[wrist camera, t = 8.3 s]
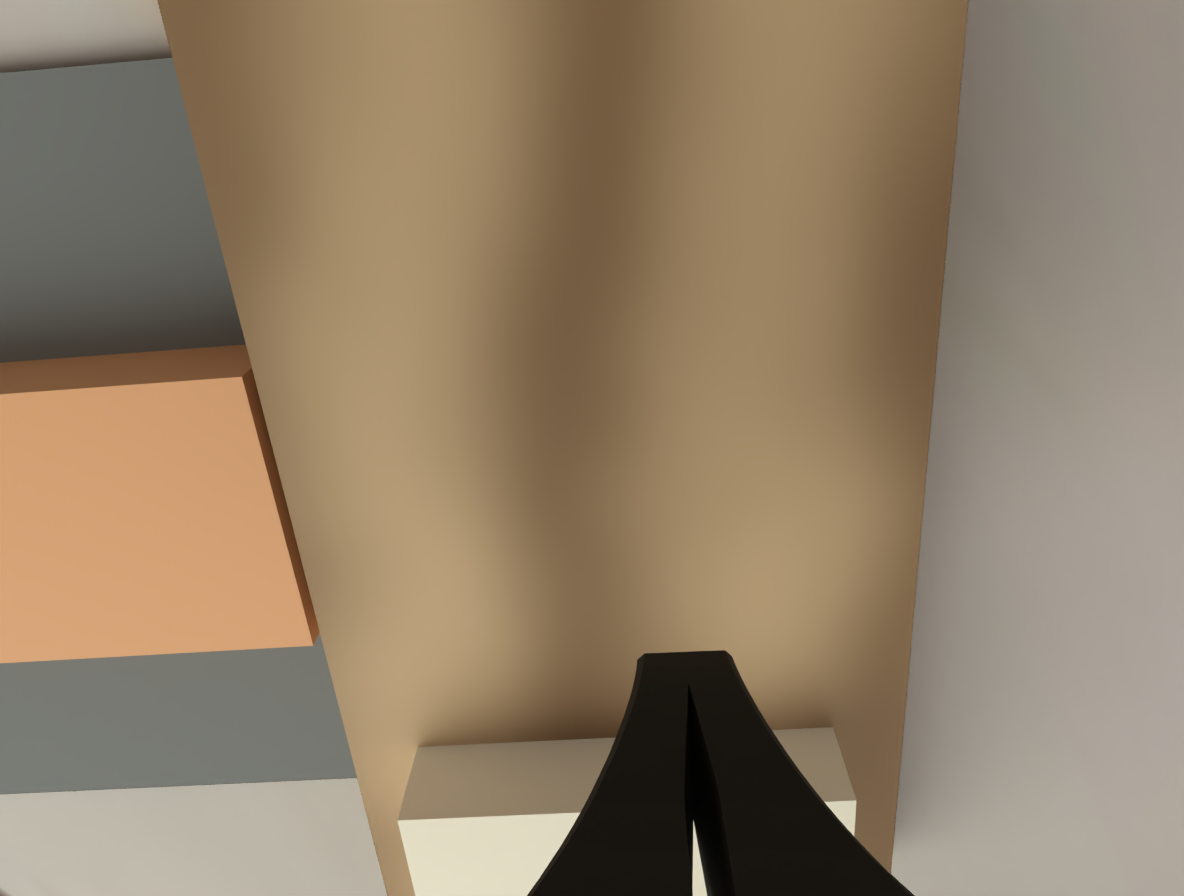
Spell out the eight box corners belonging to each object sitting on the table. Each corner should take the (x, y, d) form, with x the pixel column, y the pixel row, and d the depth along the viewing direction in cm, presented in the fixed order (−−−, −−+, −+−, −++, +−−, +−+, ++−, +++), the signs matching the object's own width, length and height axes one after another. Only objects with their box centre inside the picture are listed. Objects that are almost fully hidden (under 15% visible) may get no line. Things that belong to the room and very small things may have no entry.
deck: (921, -76, 15) (976, -96, 12) (858, 857, 24) (884, 943, 22) (219, -11, 15) (153, -18, 13) (423, 875, 25) (404, 960, 22)
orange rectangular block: (279, 342, 18) (241, 376, 16) (339, 591, 20) (313, 645, 18) (-147, 373, 18) (-231, 410, 16) (-36, 613, 21) (-99, 669, 19)
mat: (234, 52, 16) (227, 52, 16) (398, 767, 23) (395, 776, 23) (-397, 108, 16) (-414, 109, 16) (-46, 788, 24) (-53, 796, 23)
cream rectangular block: (832, 726, 19) (856, 800, 17) (823, 918, 21) (844, 1000, 20) (417, 746, 19) (397, 820, 18) (457, 931, 22) (443, 1012, 20)
